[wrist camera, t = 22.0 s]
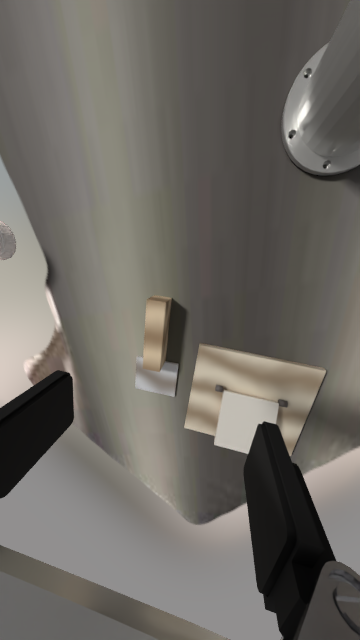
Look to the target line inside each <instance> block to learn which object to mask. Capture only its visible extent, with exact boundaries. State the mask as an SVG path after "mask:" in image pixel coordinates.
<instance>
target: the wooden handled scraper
mask: <svg viewBox="0 0 360 640" xmlns="http://www.w3.org/2000/svg"><path fill="white" fill-rule="evenodd" d="M171 301H172V298H169V297H162V296H156V295H154V296H152V297H150V298H149V299H147V304H146V321H145V337H144V354H143V357H142V356H137V363H136V384H135V388H137V389H142V390H146V391H151V392H155V393H160V394H164V395H169V396H173V397H174V396H175V390H176V382H177V373H178V365H179V364H178V363H173V362H167V361H166V352H167V342H168V332H169V321H170V311H171Z"/></svg>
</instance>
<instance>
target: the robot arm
mask: <svg viewBox="0 0 360 640" xmlns="http://www.w3.org/2000/svg"><path fill="white" fill-rule="evenodd" d="M281 132H282V140H283V144H284V147H285V150H286V152H287V154H288V156H289V158H290V159H291V160H292V161H293V162H294V163H295V165H296V166H298V167H299V168H301V169H302V170H304V171H306V172H308V173H311V174H314V175H321V176H327V175H336V174H340V173H343V172H346V171H349V170H351V169H353V168H355V167H357V166H359V165H360V0H351V1H350V3H349V5H348V7H347V9H346V11H345V13H344V15H343V17H342V19H341V21H340V23H339V25H338V27H337V29H336V31H335V32H334V34H333V36H332V38H331V40H330V42H329V43H328V44H326V45H325V46H324V47H322V48H321V49H320V50H319V51H318V52H317V53H315V54H314V55H313V57H312V58H311V59H310V60H309V61H308V62H307V63H306V65H305V66H304V67H303V69H302V70H301V72H300V73H299V75H298V76H297V78H296V79H295V82H294V84H293V86H292V88H291V90H290V92H289V95H288V97H287V100H286V102H285V106H284V110H283V114H282V124H281ZM289 137H291V138H292V139H290V138H289ZM323 166H325V169H324V168H323ZM73 419H74V409H73V379H72V377H71V376H70V373H68V372H64V371H59V370H58V371H55V372H54V373H52V374H51V375H49V376H48V377H46V378H45V379H43V380H42V381H40V382H39V383H37V384H36V385H34V386H33V387H31V388H30V389H28V390H27V391H25V392H24V393H22V394H21V395H19V396H18V397H16V398H15V399H13V400H12V401H10V402H9V403H7V404H6V405H4V406H3V407H2V408H0V498H3V497H5V496H6V495H7V494H8V493H9V492H10V491H11V490H12V489H13V488H14V487H15V486H16V484H17V483H18V482H19V481H20V480H21V479H22V478H23V477H24V476H25V475H26V473H27V472H28V471H29V470H30V469H31V468H32V467H33V466H34V465H35V464H36V462H37V461H38V460H39V459H40V458H41V457H42V456H43V455H44V454H45V453H46V451H47V450H48V449H49V448H50V447H51V446H52V445H53V444H54V443H55V442H56V440H57V439H58V438H59V437H60V436H61V435H62V434H63V433H64V431H66V430H67V428H68V427H69V426H70V425H71V424H72V422H73ZM244 482H245V490H246V498H247V506H248V515H249V523H250V531H251V540H252V547H253V555H254V565H255V573H256V581H257V587H258V590H259V592H260V593H262V594H263V596H264V603H265V609H266V610H269V611H271V612H274V613H276V615H277V621H278V627H279V631H280V632H281V634H282V637H281V640H360V576H359V575H358V574H357V573H356V572H355V571H353V570H352V569H351V568H350V567H348V566H346V565H344V564H343V563H341V562H337V561H336V559H335V557H334V554H333V551H332V549H331V546H330V544H329V541H328V539H327V536H326V534H325V531H324V529H323V526H322V524H321V521H320V519H319V516H318V514H317V511H316V509H315V506H314V504H313V501H312V498H311V496H310V493H309V491H308V488H307V486H306V483H305V481H304V478H303V476H302V473H301V471H300V469H299V467H298V466H297V464H295V463H292V461H291V458H290V456H289V453H288V450H287V447H286V445H285V442H284V439H283V437H282V434H281V431H280V429H279V426H278V425H277V424H273V423H269V422H265V421H263V423H262V424H258V426H257V429H256V432H255V435H254V438H253V441H252V444H251V447H250V450H249V453H248V456H247V459H246V462H245V465H244ZM0 640H230V639H228V638H225V637H223V636H221V635H218V634H216V633H214V632H212V631H209V630H207V629H205V628H202V627H200V626H198V625H196V624H193V623H191V622H188V621H186V620H184V619H181V618H179V617H176V616H174V615H172V614H169V613H167V612H164V611H162V610H159V609H157V608H155V607H152V606H150V605H147V604H145V603H142V602H140V601H137V600H135V599H132V598H130V597H128V596H125V595H123V594H120V593H118V592H115V591H113V590H111V589H108V588H106V587H103V586H101V585H98V584H96V583H93V582H91V581H88V580H86V579H83V578H81V577H78V576H76V575H74V574H71V573H68V572H66V571H64V570H61V569H58V568H56V567H54V566H51V565H49V564H46V563H44V562H41V561H39V560H36V559H33V558H31V557H29V556H26V555H24V554H21V553H19V552H16V551H13V550H11V549H8V548H6V547H3V546H1V545H0Z"/></svg>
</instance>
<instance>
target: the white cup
mask: <svg viewBox="0 0 360 640" xmlns="http://www.w3.org/2000/svg"><path fill="white" fill-rule="evenodd" d="M15 249H16V241H15V237H14V234H13V233H12V231H11V229H10V228H9V227H8V226H7V225H5V223H3V222H2V221H0V260H5V259H8V258H11V257H12V255H13V254H14V253H15Z"/></svg>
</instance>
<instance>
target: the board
mask: <svg viewBox="0 0 360 640" xmlns="http://www.w3.org/2000/svg"><path fill="white" fill-rule="evenodd" d="M325 373H326V370H325V369H324V368H321V367H316V366H311V365H306V364H301V363H296V362H292V361H287V360H282V359H277V358H272V357H267V356H262V355H257V354H252V353H247V352H242V351H238V350H233V349H228V348H223V347H218V346H213V345H208V344H203V343H200V345H199V351H198V356H197V362H196V367H195V372H194V378H193V383H192V389H191V394H190V399H189V405H188V410H187V416H186V421H185V426H184V428H187V429H191V430H195V431H199V432H202V433H206V434H210V435H214V436H215V433H216V428H217V422H218V417H219V411H220V406H221V400H222V395H223V389H224V390H229V391H233V392H237V393H242V394H246V395H250V396H255V397H259V398H263V399H267V400H272V401H276V402H278V403H279V407H278V414H277V420H276V424H277V425H278V426H279V429H280V431H281V434H282V437H283V439H284V442H285V445H286V447H287V450H288V453H289V456H291V454H292V452H293V449H294V447H295V445H296V442H297V440H298V437H299V435H300V433H301V430H302V428H303V426H304V423H305V421H306V418H307V416H308V414H309V411H310V409H311V407H312V404H313V402H314V399H315V397H316V395H317V392H318V390H319V388H320V385H321V383H322V380H323V378H324V376H325Z"/></svg>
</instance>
